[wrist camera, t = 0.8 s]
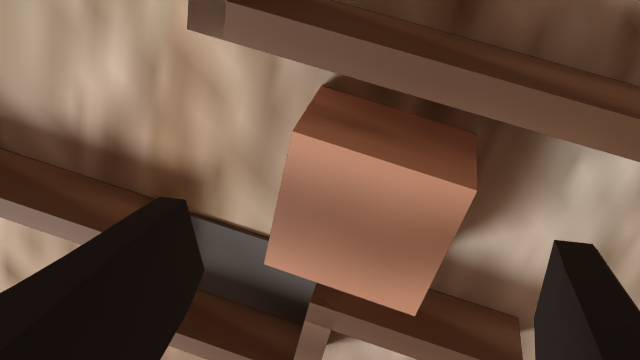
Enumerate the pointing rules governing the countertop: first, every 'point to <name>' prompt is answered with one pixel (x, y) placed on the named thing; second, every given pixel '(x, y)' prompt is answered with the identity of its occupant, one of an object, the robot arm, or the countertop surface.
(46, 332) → the robot arm
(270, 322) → the trap lane
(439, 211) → the block
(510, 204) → the countertop surface
